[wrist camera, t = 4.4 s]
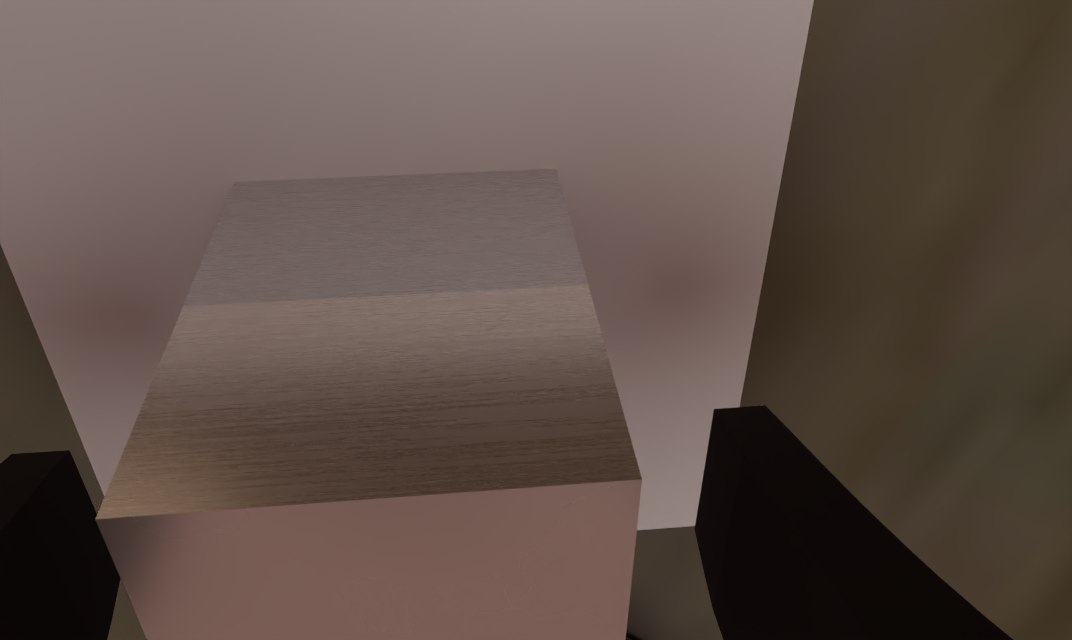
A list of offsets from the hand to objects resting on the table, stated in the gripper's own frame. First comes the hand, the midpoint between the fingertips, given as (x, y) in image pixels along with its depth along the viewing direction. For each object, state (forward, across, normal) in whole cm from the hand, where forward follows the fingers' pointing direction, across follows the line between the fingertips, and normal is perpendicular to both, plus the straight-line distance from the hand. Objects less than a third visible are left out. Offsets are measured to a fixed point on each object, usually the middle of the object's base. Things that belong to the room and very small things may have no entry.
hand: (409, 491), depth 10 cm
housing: (+4, 0, 0) cm, 4 cm away
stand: (+5, 0, 0) cm, 5 cm away
